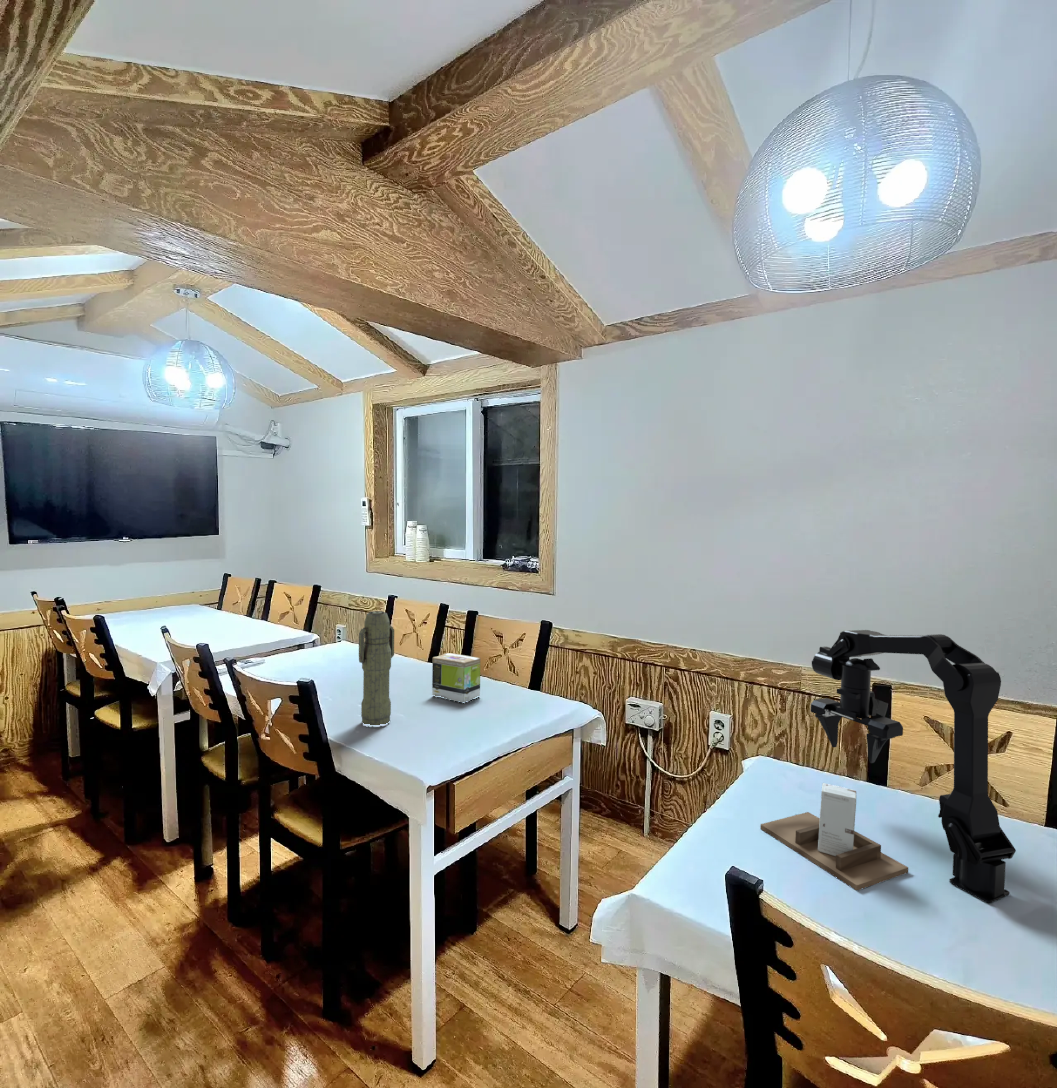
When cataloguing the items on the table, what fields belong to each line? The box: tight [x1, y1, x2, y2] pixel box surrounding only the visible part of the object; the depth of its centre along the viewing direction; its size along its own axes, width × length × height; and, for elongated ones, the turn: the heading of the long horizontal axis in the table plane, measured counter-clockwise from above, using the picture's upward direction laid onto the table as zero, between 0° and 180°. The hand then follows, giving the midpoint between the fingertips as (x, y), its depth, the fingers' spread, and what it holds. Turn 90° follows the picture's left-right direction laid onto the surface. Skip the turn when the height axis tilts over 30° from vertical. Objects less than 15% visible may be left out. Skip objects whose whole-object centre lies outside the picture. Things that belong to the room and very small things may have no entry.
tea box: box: [431, 652, 481, 702], centre depth 208 cm, size 15×10×15 cm, turn 58°
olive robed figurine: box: [358, 610, 395, 725], centre depth 179 cm, size 9×12×35 cm
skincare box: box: [818, 782, 857, 856], centre depth 111 cm, size 6×4×12 cm
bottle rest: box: [760, 811, 909, 891], centre depth 114 cm, size 22×14×4 cm, turn 24°
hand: (852, 754), depth 129 cm, fingers open, 9 cm apart
